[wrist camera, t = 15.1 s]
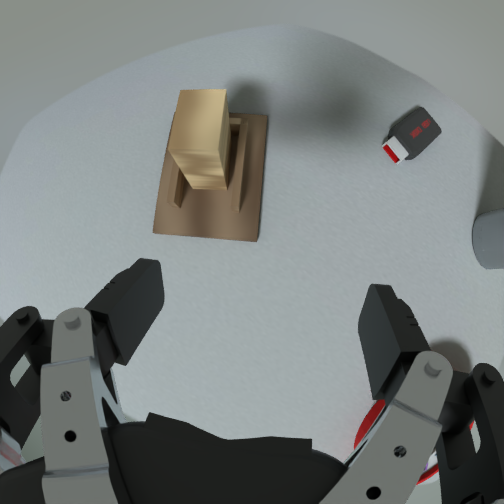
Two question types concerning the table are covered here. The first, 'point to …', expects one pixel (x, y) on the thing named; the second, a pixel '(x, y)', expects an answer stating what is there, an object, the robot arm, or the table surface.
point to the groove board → (217, 201)
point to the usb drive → (411, 136)
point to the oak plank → (202, 138)
